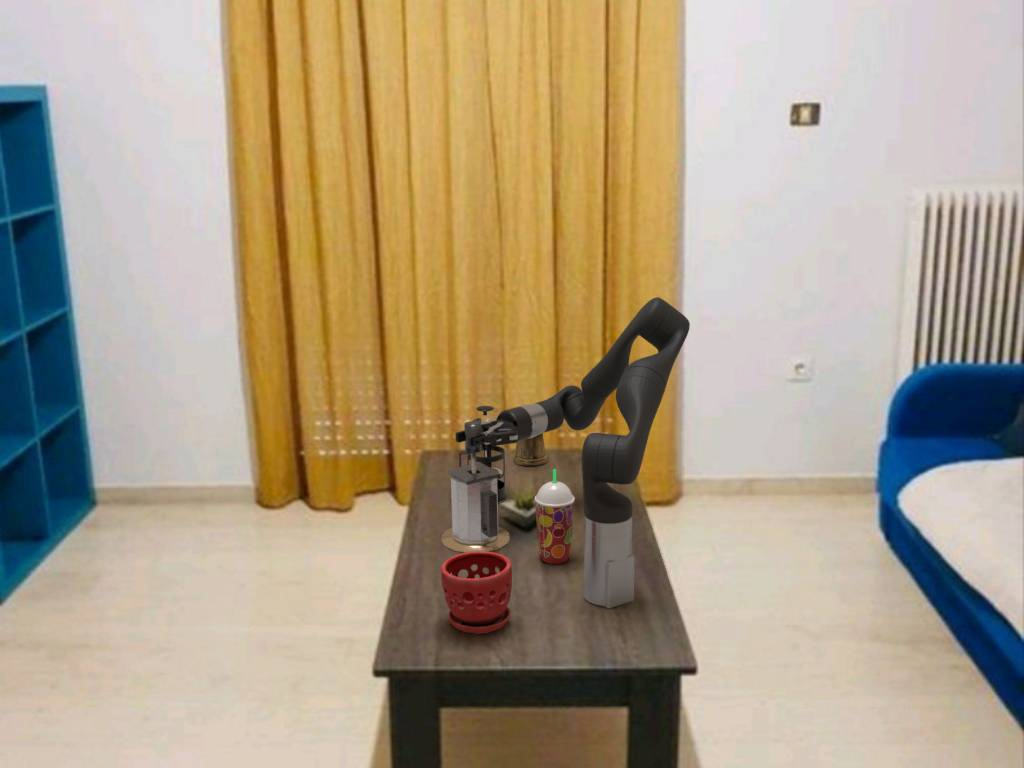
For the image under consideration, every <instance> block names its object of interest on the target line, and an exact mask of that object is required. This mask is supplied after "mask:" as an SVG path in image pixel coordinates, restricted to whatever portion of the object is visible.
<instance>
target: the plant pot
mask: <svg viewBox="0 0 1024 768" xmlns="http://www.w3.org/2000/svg"><path fill="white" fill-rule="evenodd" d="M475 565H476V566H477V568H476V569H472V566H475ZM512 567H513V566H512V562H511V560H510V559H509V558H508V557H507V556H505V555H503V554H501V553H497V552H494V551H491V552H484V551H476V552H467V553H459V554H456V555H453V556H451V557H450V558H448V559H446V560H445V561H444V562H443V563H442V565H441V567H440V571H441V572H440V573H441V576H440V577H441V585H442V590H443V594H444V598H445V602H446V605H447V607H448V609H449V612H448V620H449V622H450V624H451V625H452V626H453V627H454V628H456V629H457V630H458V631H460V632H461V631H462V632H463V633H469V634H470V633H471V634H487V633H493V632H495V631H497V630H499V629H501V628H504V626H506V625H507V623H508V622H509V620H510V618H511V613H512V612H511V609H510V607H509V606H508V605H509V602H510V600H511V595H512V587H513V570H512ZM485 568H486V569H487V570H488V573H485V572H484V571H483V570H484V569H485ZM496 568H497V569H498V570H499V572H497V570H496ZM462 570H465V571H466V572H467V576H466V577H459V573H460V571H462ZM476 575H478V576H479V577H476Z"/></svg>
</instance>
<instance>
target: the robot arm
mask: <svg viewBox="0 0 1024 768" xmlns="http://www.w3.org/2000/svg"><path fill="white" fill-rule="evenodd" d="M690 327H691V323H690V321H689V319H688V318H687V316H685V315H684V314H683V313H682V312H680V311H679V310H678V309H676V308H675V307H674V306H672V305H671V304H670V303H669V302H667V301H666V300H665V299H663V298H662V297H659V296H658V297H657V296H656V297H653V298H651V299H650V300H648V301H646V303H645V304H644V305H643V306H642V307H641V308H640V309H639V311H638V312H637V313H636V314H635V315H634V317H633V318H632V319H631V320H630V322H629V323H628V325H627V326H626V327H625V328H624V330H623V331H622V332H621V334H620V335H619V336H618V338H617V339H616V341H615V342H614V343H613V344H612V346H611V347H610V349H608V350H607V352H606V354H605V355H604V356H603V357H602V358H601V359H600V361H599V362H598V363H597V364H596V365H595V366H594V367H592V368H591V370H590V371H589V372H588V373H587V374H585V376H584V377H583V378H582V380H581V382H580V386H581V388H580V387H579V386H578V385H574V384H573V385H572V384H571V385H567V386H565V387H563V388H562V389H561V390H559V391H558V392H557V393H555V394H553V395H552V396H551V397H548V398H547V399H544V400H542V401H537V402H534V403H528V404H527V403H526V404H523V405H520V406H515V407H512V408H507V409H505V410H502V411H501V412H500V413H499V414H498V416H497V417H496V418H493V419H489V420H486V422H485V421H482V418H481V417H480V418H479V417H478V418H475V419H474V420H472V421H477V422H480V423H481V433H480V434H477V435H473V436H470V437H468V446H469V447H474V446H477V445H481V444H483V443H484V444H485V445H487V444H490V443H491V445H492V446H504V445H511V444H516V443H517V442H519V441H522V440H526V439H529V438H532V437H535V436H537V435H539V434H542V433H543V434H544V433H548V432H551V431H554V430H557V429H559V428H560V427H562V425H563V423H564V421H565V422H566V424H567V426H568V427H569V428H570V429H572V430H573V431H583V430H585V429H588V428H589V427H590V426H591V425H592V424H593V423H594V421H596V418H597V417H598V415H599V412H600V411H601V409H602V407H603V405H604V404H605V401H606V400H607V398H608V397H610V396H611V394H613V393H614V392H615V402H616V404H617V405H616V406H617V408H618V410H619V411H620V414H621V416H622V417H623V420H624V421H625V423H626V424H627V428H628V431H629V432H628V433H627V434H625V435H623V434H613V433H604V432H591V433H589V434H588V435H587V436H586V437H585V439H584V441H583V444H582V451H581V474H582V490H583V492H582V493H583V494H582V498H583V501H582V502H583V507H584V508H583V597H584V599H585V600H586V601H588V603H591V604H593V605H595V606H596V605H597V606H600V607H604V608H607V609H612V608H615V607H618V606H621V605H624V604H628V603H631V602H634V600H635V599H634V597H635V556H634V555H633V553H632V546H633V545H632V544H633V543H632V542H633V537H632V536H633V503H632V500H631V499H630V498H629V497H628V496H626V495H625V494H623V493H621V492H619V491H618V490H615V488H612V487H611V485H610V484H613V485H614V484H615V485H616V484H617V485H631V484H633V483H634V482H635V481H636V480H637V477H638V475H639V473H640V471H641V467H642V464H643V460H644V456H645V452H646V448H647V443H648V440H649V436H650V432H651V430H652V426H653V423H654V421H655V418H656V415H657V413H658V410H659V408H660V406H661V403H662V399H663V397H664V394H665V392H666V388H667V384H668V382H669V378H670V375H671V372H672V370H673V367H674V365H675V362H676V360H677V358H678V356H679V353H680V351H681V350H682V347H683V345H684V344H685V341H686V339H687V336H688V334H689V331H690ZM638 337H641V338H642V339H644V340H645V341H646V342H648V343H649V344H650V345H652V346H653V347H654V348H655V349H656V350H657V353H655V354H652V355H648V356H644V357H642V358H639V359H636V360H634V361H631V363H630V356H631V351H632V347H633V345H634V343H635V341H636V339H637V338H638ZM454 437H455V442H457V443H462V442H465V429H463V430H459V431H456V432H455V436H454Z"/></svg>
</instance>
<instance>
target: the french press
mask: <svg viewBox="0 0 1024 768" xmlns="http://www.w3.org/2000/svg"><path fill="white" fill-rule="evenodd" d="M494 409H495V407H493V406H491V405H479V406H477V407H476V408H475V410H476V411H478V412H482V414H483V415H482V416H484V419H483V420H484V422H487V415H488V412H492V411H493V410H494ZM482 451H483V456H477V455H476V463H483V464H484V465H486V466H488V467H490V468H491V469H493V470H495V471H497V472H498V473H500V474H501V477H499V478H497V494H498V502H500V501H502V500H504V499H505V498H506V499H507V494H506V462H505V461H506V459H505V458H506V457H505V456H506V454H505V453H506V452H505V451H506V450H505V448H503V447H502V446H500V445H497V446H492V445H491V443H490V444H487V445H485V444H484V443H483V444H482ZM482 451H481V452H482ZM492 451H493V452H499V454H497V455H494V456H492ZM500 453H501V454H500ZM458 454H459V455H458V461H459V463H458V464H459V467H463V465H462V455H467V456H466V457H467V466H468V465H470V461H471V453H468V452H466V451H465V450H460V451H459V453H458ZM501 460H503V470H502V469H501V468H498V467H494V466H492V463H495V462H498V461H499V462H500V461H501ZM459 467H458V468H459ZM502 478H503V480H501V479H502ZM506 499H505V500H506ZM505 500H504V501H505Z"/></svg>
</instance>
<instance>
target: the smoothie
mask: <svg viewBox="0 0 1024 768" xmlns="http://www.w3.org/2000/svg"><path fill="white" fill-rule="evenodd" d="M537 491H538V492H537V494H535V497H534V504H535V505H534V506H535V519H536V520H535V521H536V531H537V532H536V533H537V534H536V535H537V545H538V549H537V550H538V555H539V556H540V558H541V560H542V561H543V562H545V563H546V564H550V565H559V564H563V563H565V562H567V561H568V560H569V557H570V556H571V554H572V543H573V542H572V541H573V529H574V528H573V527H574V515H575V514H574V511H575V501H576V498H575V495H573V493H572V490H571V489H570V488H569V486H567V484H565V483H563V482H561V481H558V480H557V469H556V468H554V469H552V481H551V480H550V481H548V482H546V483H544V484H543V485H542V486H540V488H539V490H537Z"/></svg>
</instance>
